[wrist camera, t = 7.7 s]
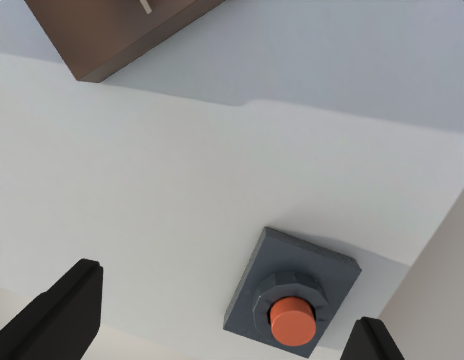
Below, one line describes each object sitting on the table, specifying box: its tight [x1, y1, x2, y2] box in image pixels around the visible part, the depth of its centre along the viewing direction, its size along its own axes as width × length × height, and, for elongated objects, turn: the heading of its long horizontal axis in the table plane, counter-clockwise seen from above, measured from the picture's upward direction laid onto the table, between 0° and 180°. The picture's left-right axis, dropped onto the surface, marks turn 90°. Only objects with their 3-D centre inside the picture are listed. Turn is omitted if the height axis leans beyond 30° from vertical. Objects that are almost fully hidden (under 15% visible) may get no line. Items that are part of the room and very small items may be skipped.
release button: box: [270, 296, 316, 346], centre depth 23 cm, size 4×4×2 cm
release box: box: [223, 227, 362, 358], centre depth 25 cm, size 11×9×4 cm
